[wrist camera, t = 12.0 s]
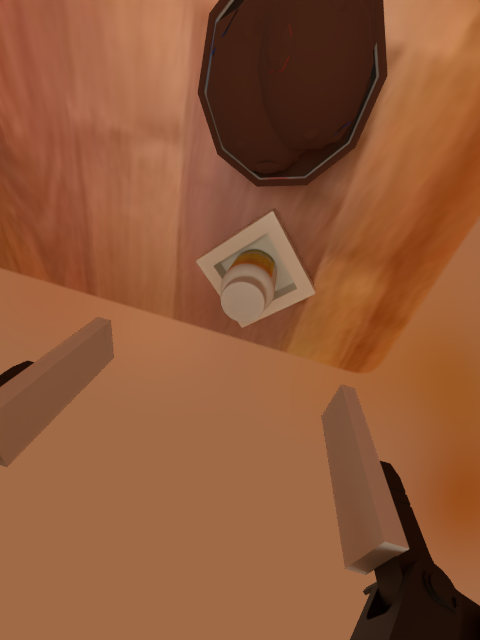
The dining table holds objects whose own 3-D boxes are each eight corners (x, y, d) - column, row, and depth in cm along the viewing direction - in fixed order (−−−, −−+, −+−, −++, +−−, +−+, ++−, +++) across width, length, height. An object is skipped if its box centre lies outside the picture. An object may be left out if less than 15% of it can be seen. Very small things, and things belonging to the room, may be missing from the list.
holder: (203, 254, 30) (195, 261, 28) (274, 207, 26) (272, 210, 24) (245, 316, 34) (241, 327, 31) (313, 283, 30) (316, 293, 27)
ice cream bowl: (337, 2, 19) (448, -405, 6) (355, 163, 23) (439, 139, 10) (213, 73, 22) (108, -84, 9) (251, 202, 26) (218, 221, 14)
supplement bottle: (282, 284, 30) (280, 323, 22) (241, 294, 31) (225, 334, 23) (269, 241, 28) (262, 266, 19) (227, 255, 29) (203, 284, 21)
